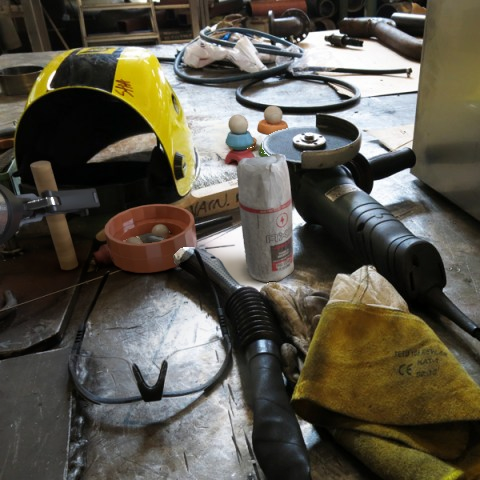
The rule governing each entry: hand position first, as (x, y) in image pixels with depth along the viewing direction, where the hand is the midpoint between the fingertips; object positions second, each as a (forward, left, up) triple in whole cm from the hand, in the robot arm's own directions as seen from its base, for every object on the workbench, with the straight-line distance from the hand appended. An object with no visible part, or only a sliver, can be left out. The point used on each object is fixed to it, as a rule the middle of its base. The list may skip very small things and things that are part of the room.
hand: (34, 215), depth 69 cm
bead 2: (+4, +18, -10) cm, 21 cm away
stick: (-3, +4, -12) cm, 13 cm away
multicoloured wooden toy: (-14, +60, -12) cm, 63 cm away
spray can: (+24, +23, -12) cm, 36 cm away
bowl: (+5, +15, -12) cm, 20 cm away
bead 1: (+4, +12, -10) cm, 16 cm away
